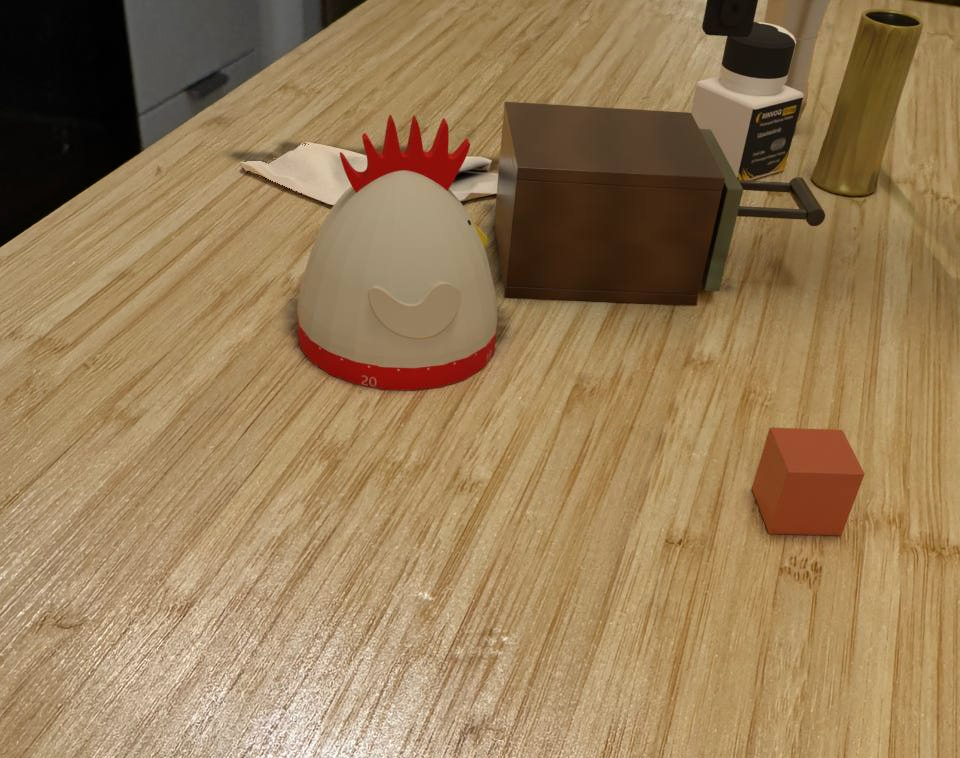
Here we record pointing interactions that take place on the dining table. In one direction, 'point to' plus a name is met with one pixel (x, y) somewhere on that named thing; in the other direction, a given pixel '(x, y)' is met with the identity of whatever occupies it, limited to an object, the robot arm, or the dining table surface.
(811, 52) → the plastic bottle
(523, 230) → the cabinet
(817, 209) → the drawer
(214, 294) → the dining table surface
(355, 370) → the kitchen timer
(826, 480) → the block
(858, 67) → the vase
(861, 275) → the dining table surface
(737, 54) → the medicine bottle
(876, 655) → the dining table surface
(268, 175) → the cloth
